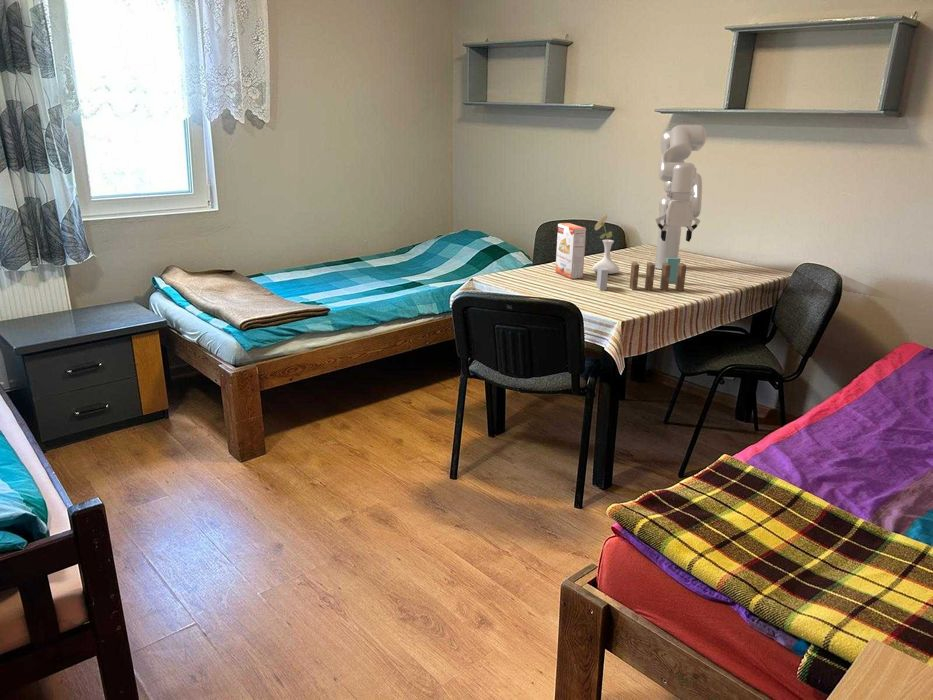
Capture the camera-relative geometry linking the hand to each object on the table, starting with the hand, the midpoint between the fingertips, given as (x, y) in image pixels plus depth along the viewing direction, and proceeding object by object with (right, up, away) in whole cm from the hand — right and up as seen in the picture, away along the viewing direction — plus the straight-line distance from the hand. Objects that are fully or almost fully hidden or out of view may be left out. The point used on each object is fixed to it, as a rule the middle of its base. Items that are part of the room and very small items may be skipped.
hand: (675, 240), depth 283 cm
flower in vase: (-24, -11, +21) cm, 34 cm away
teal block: (0, -16, +6) cm, 17 cm away
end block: (-31, -19, -6) cm, 37 cm away
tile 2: (-6, -20, -6) cm, 21 cm away
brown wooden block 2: (0, -20, -6) cm, 21 cm away
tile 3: (-12, -20, -6) cm, 24 cm away
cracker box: (-40, -12, +15) cm, 45 cm away
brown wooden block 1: (-18, -19, -6) cm, 27 cm away
